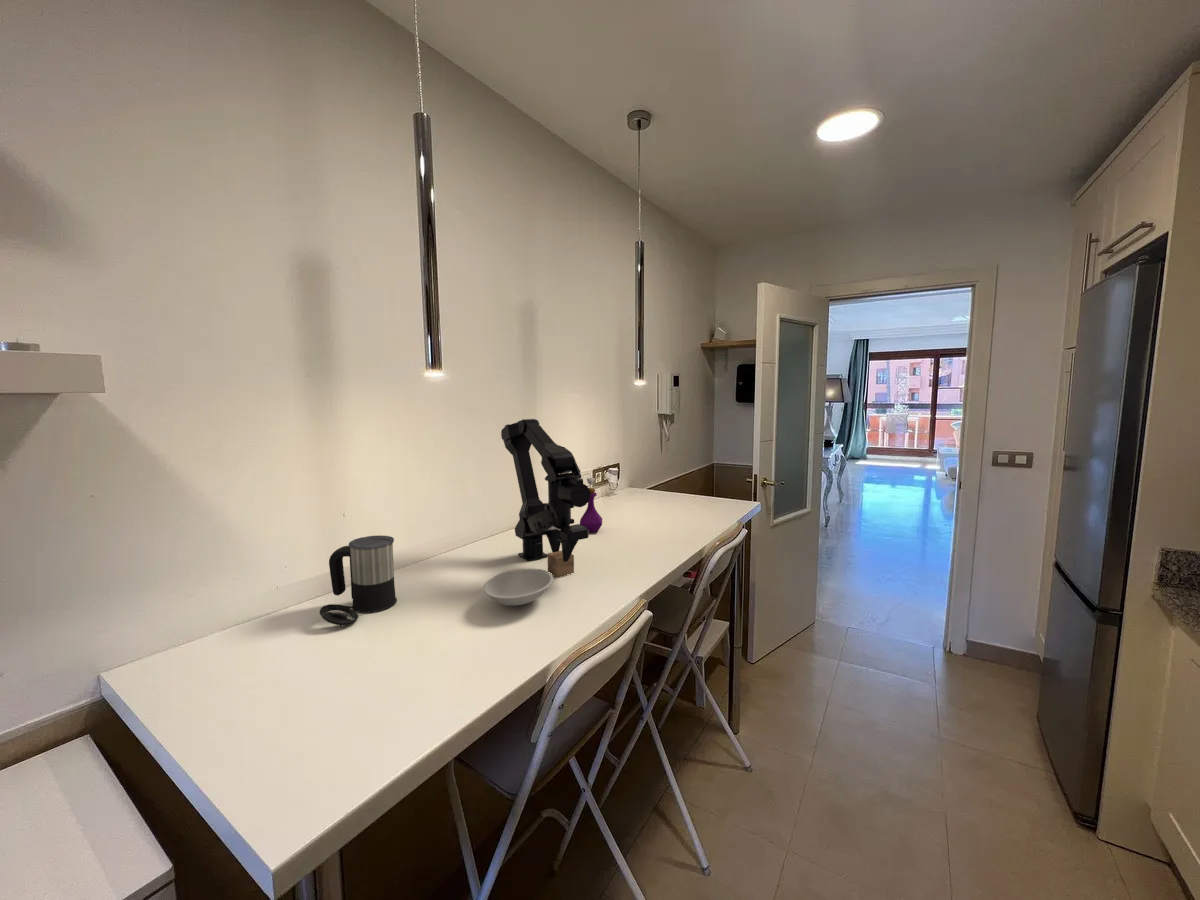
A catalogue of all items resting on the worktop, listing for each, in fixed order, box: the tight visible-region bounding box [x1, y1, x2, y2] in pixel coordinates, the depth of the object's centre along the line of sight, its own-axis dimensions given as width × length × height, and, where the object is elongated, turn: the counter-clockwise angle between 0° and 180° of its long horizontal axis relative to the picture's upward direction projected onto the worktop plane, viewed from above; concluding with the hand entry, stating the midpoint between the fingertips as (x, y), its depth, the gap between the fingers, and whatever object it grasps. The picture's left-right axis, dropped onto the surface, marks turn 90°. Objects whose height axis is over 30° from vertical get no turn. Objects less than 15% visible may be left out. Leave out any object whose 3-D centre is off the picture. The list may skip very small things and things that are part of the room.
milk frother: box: [319, 535, 398, 627], centre depth 108 cm, size 14×16×15 cm
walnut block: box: [546, 550, 575, 578], centre depth 131 cm, size 5×5×5 cm
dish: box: [482, 568, 554, 607], centre depth 113 cm, size 18×14×5 cm
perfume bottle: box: [579, 477, 603, 533], centre depth 169 cm, size 8×8×18 cm
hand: (560, 558), depth 131 cm, fingers closed on walnut block, 5 cm apart
